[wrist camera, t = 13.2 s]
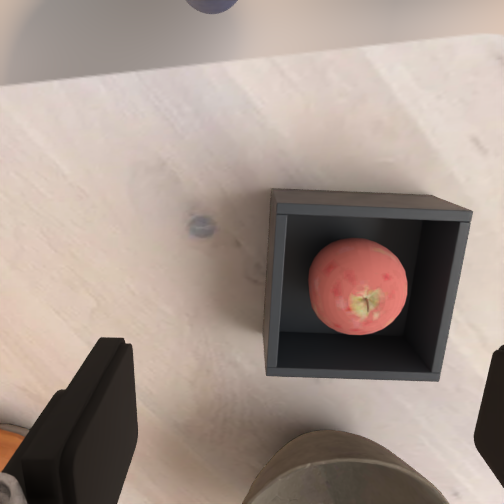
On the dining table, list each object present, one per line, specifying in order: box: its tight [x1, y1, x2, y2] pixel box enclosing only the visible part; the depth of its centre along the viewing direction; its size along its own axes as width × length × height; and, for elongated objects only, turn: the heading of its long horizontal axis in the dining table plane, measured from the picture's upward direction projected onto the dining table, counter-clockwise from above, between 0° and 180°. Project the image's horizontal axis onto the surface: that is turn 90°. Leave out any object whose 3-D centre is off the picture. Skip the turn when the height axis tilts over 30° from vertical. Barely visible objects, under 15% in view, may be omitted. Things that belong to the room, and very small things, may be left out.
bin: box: [263, 188, 473, 382], centre depth 34 cm, size 14×14×7 cm
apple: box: [308, 238, 407, 335], centre depth 33 cm, size 7×7×8 cm
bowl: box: [242, 430, 449, 504], centre depth 39 cm, size 19×19×10 cm
